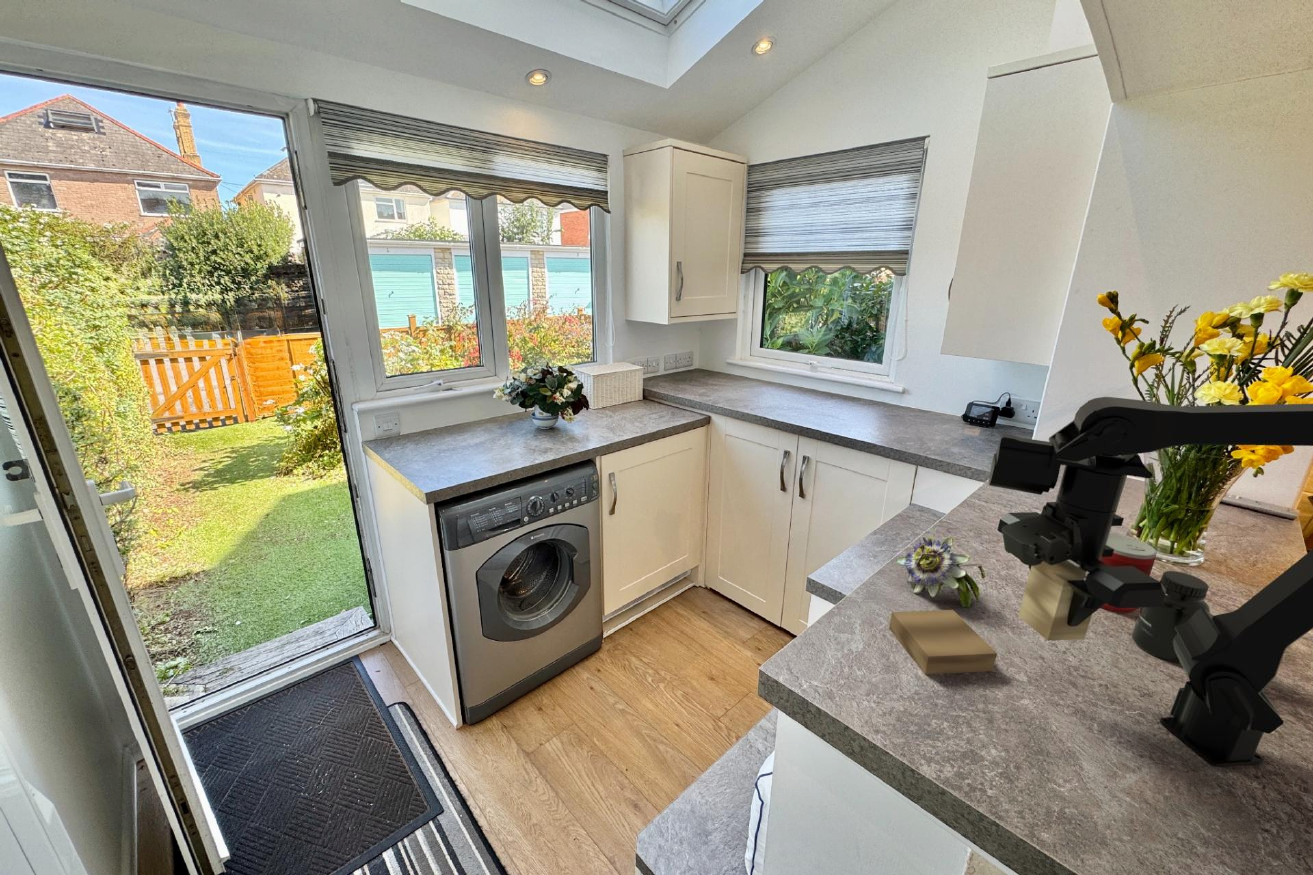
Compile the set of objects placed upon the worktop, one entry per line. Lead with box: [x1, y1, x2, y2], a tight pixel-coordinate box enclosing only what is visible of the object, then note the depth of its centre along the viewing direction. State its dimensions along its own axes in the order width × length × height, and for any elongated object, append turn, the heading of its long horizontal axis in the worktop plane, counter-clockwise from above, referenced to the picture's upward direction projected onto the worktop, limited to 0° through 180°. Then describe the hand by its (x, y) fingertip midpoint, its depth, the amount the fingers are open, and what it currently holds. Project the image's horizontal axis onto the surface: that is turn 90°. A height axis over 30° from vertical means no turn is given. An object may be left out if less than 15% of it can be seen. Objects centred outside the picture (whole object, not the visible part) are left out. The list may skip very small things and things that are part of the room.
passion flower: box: [895, 536, 986, 609], centre depth 92 cm, size 11×11×12 cm
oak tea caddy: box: [1018, 560, 1093, 642], centre depth 68 cm, size 5×5×9 cm
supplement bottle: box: [1131, 570, 1211, 663], centre depth 78 cm, size 7×7×12 cm
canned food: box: [1100, 533, 1157, 614], centre depth 89 cm, size 8×8×11 cm
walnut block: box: [888, 609, 998, 675], centre depth 78 cm, size 10×10×3 cm
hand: (1054, 612), depth 68 cm, fingers closed on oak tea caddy, 5 cm apart
